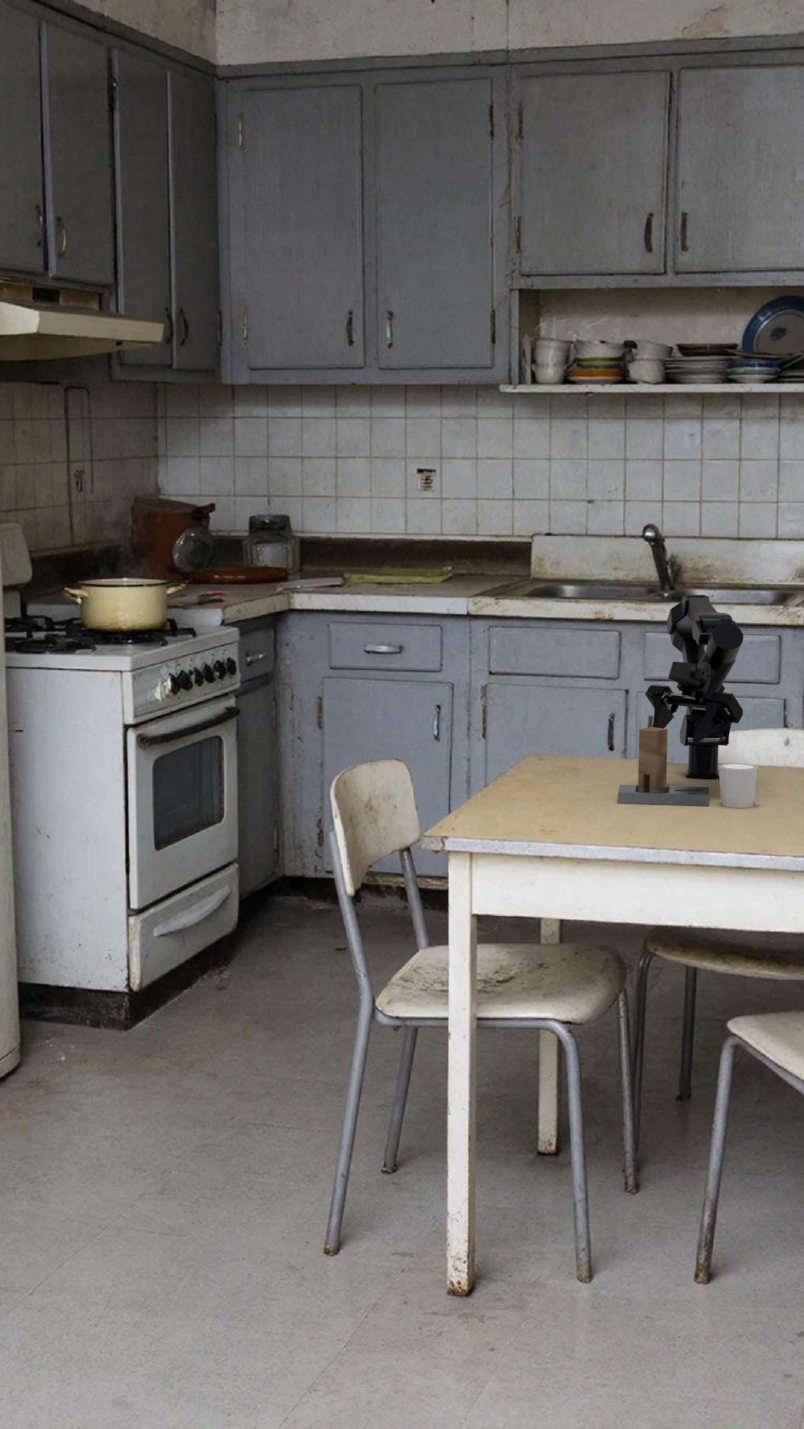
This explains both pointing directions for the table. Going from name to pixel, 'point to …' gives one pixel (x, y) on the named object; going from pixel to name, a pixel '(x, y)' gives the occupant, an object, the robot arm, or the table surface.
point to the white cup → (737, 784)
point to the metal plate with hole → (665, 796)
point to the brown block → (652, 760)
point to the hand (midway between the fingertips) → (673, 738)
